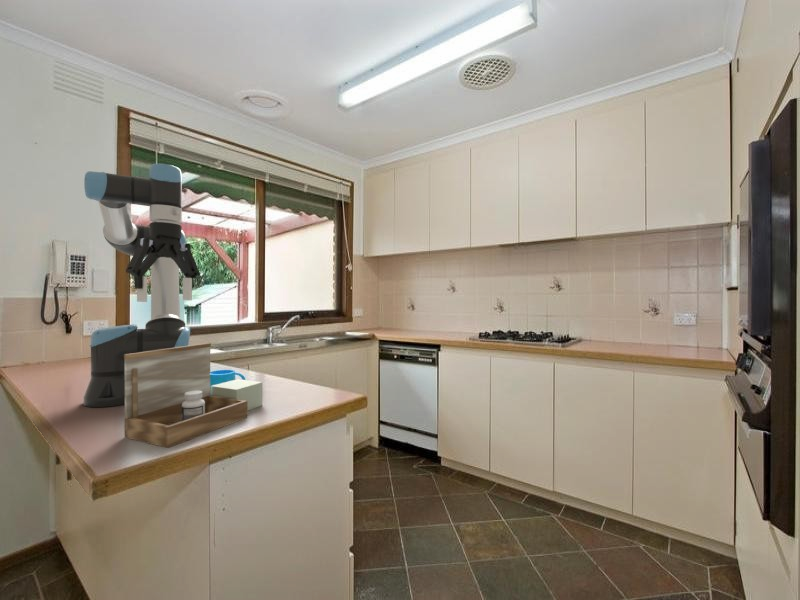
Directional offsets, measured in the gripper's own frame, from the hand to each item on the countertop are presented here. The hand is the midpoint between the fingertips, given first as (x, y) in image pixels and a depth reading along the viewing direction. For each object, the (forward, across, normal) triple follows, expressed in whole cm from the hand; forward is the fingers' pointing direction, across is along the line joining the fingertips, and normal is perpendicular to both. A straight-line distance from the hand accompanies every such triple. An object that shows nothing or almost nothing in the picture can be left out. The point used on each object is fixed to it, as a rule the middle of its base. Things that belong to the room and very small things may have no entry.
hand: (166, 301), depth 106 cm
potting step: (+32, +12, -13) cm, 36 cm away
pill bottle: (+31, -5, -15) cm, 35 cm away
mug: (+32, +22, -1) cm, 39 cm away
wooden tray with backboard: (+31, -5, -14) cm, 35 cm away
